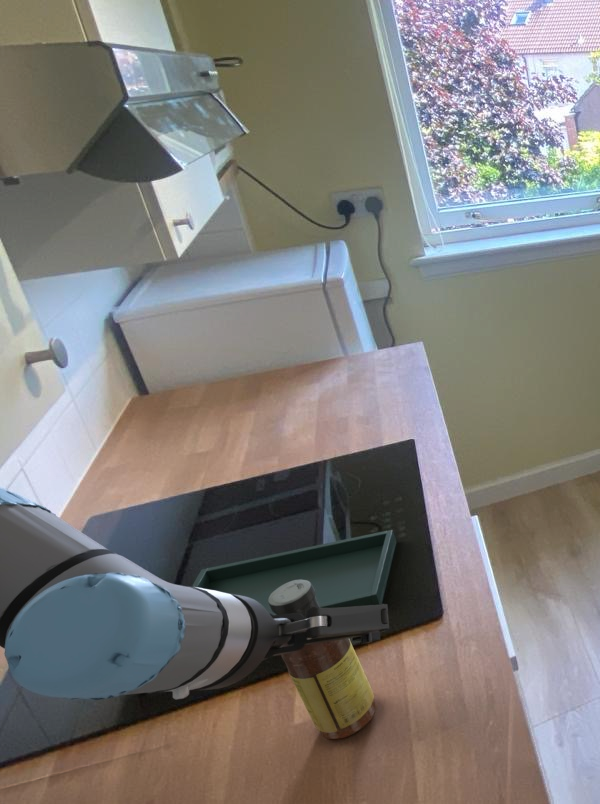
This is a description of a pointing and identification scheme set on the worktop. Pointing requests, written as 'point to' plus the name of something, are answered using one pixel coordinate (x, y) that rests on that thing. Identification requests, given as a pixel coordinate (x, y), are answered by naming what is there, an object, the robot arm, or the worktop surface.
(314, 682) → the sauce bottle
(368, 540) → the tray
